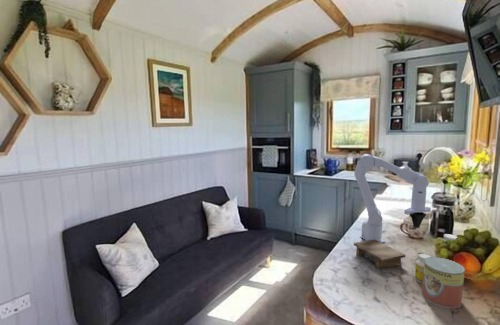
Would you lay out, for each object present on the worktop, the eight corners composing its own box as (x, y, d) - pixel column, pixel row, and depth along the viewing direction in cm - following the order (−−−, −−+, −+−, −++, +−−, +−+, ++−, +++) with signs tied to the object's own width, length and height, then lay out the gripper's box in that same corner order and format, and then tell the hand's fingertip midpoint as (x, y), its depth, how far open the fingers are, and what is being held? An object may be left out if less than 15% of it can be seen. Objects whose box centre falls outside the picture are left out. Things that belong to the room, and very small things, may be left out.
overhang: (353, 253, 130) (353, 242, 129) (374, 249, 134) (374, 239, 133) (381, 271, 114) (382, 259, 113) (404, 266, 118) (405, 254, 117)
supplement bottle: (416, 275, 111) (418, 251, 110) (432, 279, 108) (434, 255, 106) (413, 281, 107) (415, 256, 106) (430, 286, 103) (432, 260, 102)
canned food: (414, 292, 99) (416, 260, 98) (435, 285, 104) (438, 254, 102) (447, 312, 89) (451, 276, 88) (469, 303, 94) (473, 269, 92)
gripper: (414, 203, 128) (412, 232, 130) (437, 200, 133) (435, 228, 135) (401, 199, 135) (399, 226, 137) (424, 196, 140) (421, 223, 142)
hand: (416, 227), depth 136 cm, fingers closed
